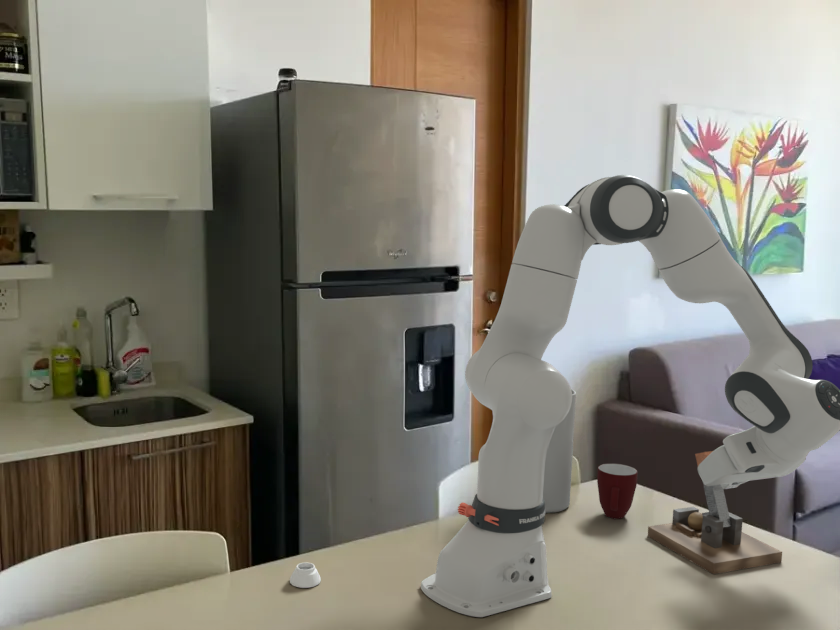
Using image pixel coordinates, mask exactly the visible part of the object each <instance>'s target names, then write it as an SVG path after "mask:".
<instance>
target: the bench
mask: <svg viewBox="0 0 840 630" xmlns="http://www.w3.org/2000/svg"><path fill="white" fill-rule="evenodd" d="M699 511H700V509H698V508H696V507H695V506H688V507H682V508H673V511H672V522H670V523H669V522H668V523H663V524H655V525H650V526H649V525H648V527H647V537H648V538H650V539H652V540H653V541H655V542H657V543H659V544H660V545H662V546H664V547H666V548H667V549H669V550H671V551H673V552H674V553H676V554H678V555H679V556H681V557H683V558H685V559H686V560H688V561H690V562H692V563H693V564H695V565H696V566H698V567H700V568H702V569H704V570H705V571H707V572H709V573H711V574H712V575H715V574H722V573H729V572H735V571H739V570H745V569H746V570H747V569H750V568H751V569H752V568H756V567H762V566H768V565H773V564H778V563H779V564H780V563H782V559H783V551H782V550H780V549H778V548H775V547H773V546H772V545H769V544H767V543H765V542H763V541H762V540H759V539H757V538H754V537H753V536H751V535H749V534H747V533H746V532H743V531H742V530H743V521H744V520H743V518H742V517H740V516H738V515H737V514H735V513H734V514H733V513H732V512H729V511H728V513H729V517H730V522H731V526H730V527H723V522H724V521H722V520H720V519H718V518H716V517H714V516H712V515H703V521H702V530H700V531H696V530H693V529H692V528H691V527H690V526H689V524H688V517H689V516H690V514H692V513H694V512H699ZM699 513H700V512H699Z"/></svg>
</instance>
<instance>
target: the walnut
mask: <svg viewBox="0 0 840 630" xmlns="http://www.w3.org/2000/svg"><path fill="white" fill-rule="evenodd" d="M702 521H703V515H702V512H694V513H692V514H690V516H689V517H688V524H689V526H690V527H691V528H692V529H693V530H696V531H700V530H702Z"/></svg>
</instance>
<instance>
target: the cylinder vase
mask: <svg viewBox="0 0 840 630" xmlns="http://www.w3.org/2000/svg"><path fill="white" fill-rule="evenodd" d="M571 391H572V403H571V407H570V410H569V412H568V414H567V416H566V417H565V418H564V419H563V421H562V422H560V423H559V424H558V425H557V426H556V427H555V429H554V432H553V434H552V437H551V440H550V443H549V446H548V450H547V454H546V460H545V471H544V486H543V499H544V501H545V509H546V510H545V514H547V513H548V514H551V513H552V514H553V513H558V512H559V513H560V512H562V511H564V510H566V509H567V508H568V507H570V503H571V489H572V488H571V486H572V471H573V470H572V469H573V453H574V452H573V451H574V435H575V418H576V404H577V403H576V399H577V392H576V390H574V389H573V388H571Z"/></svg>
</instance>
